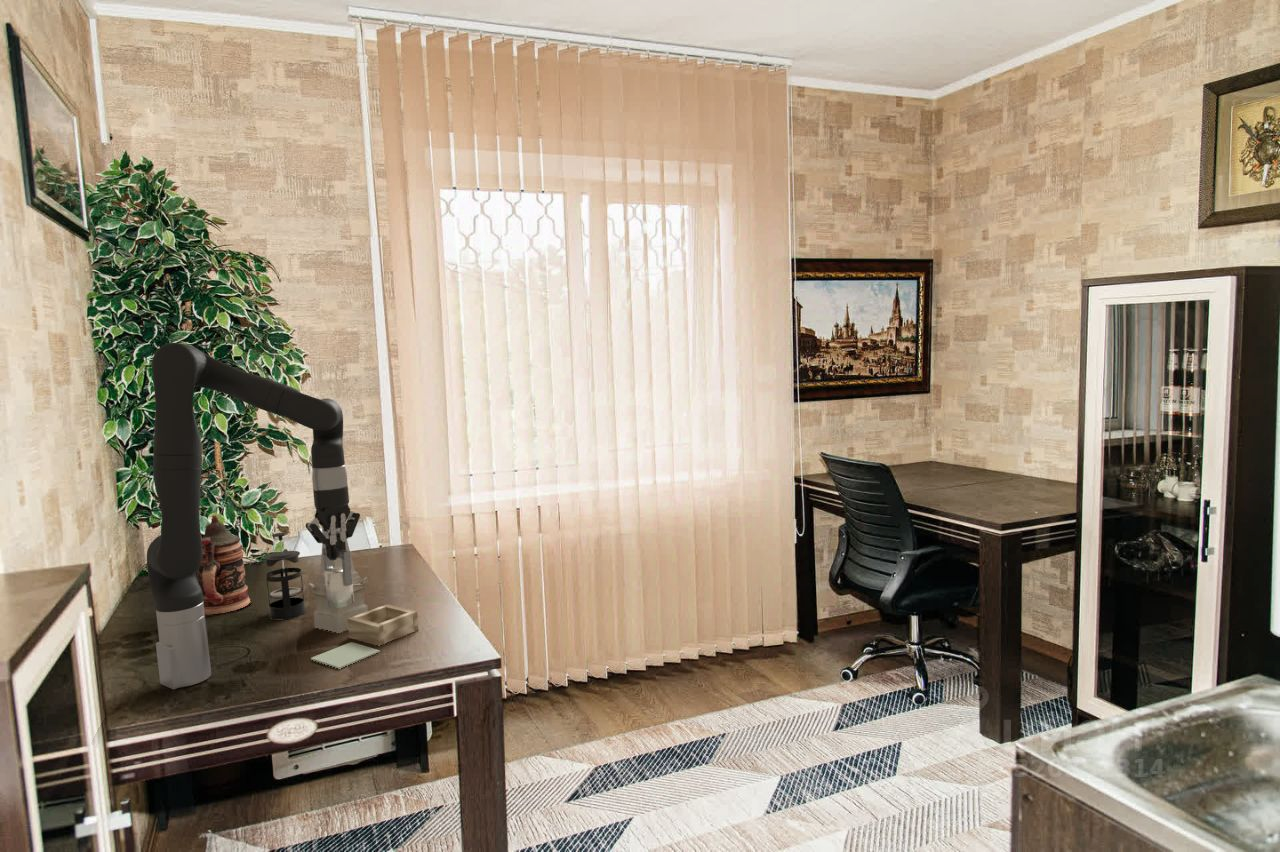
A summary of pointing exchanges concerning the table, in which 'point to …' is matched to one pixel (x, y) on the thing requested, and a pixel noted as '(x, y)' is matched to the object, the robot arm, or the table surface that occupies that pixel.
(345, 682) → the table surface
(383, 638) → the holder
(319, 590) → the miniature monument
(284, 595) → the french press
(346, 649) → the mat
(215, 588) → the beer stein
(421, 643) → the table surface
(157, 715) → the table surface
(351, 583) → the pail
